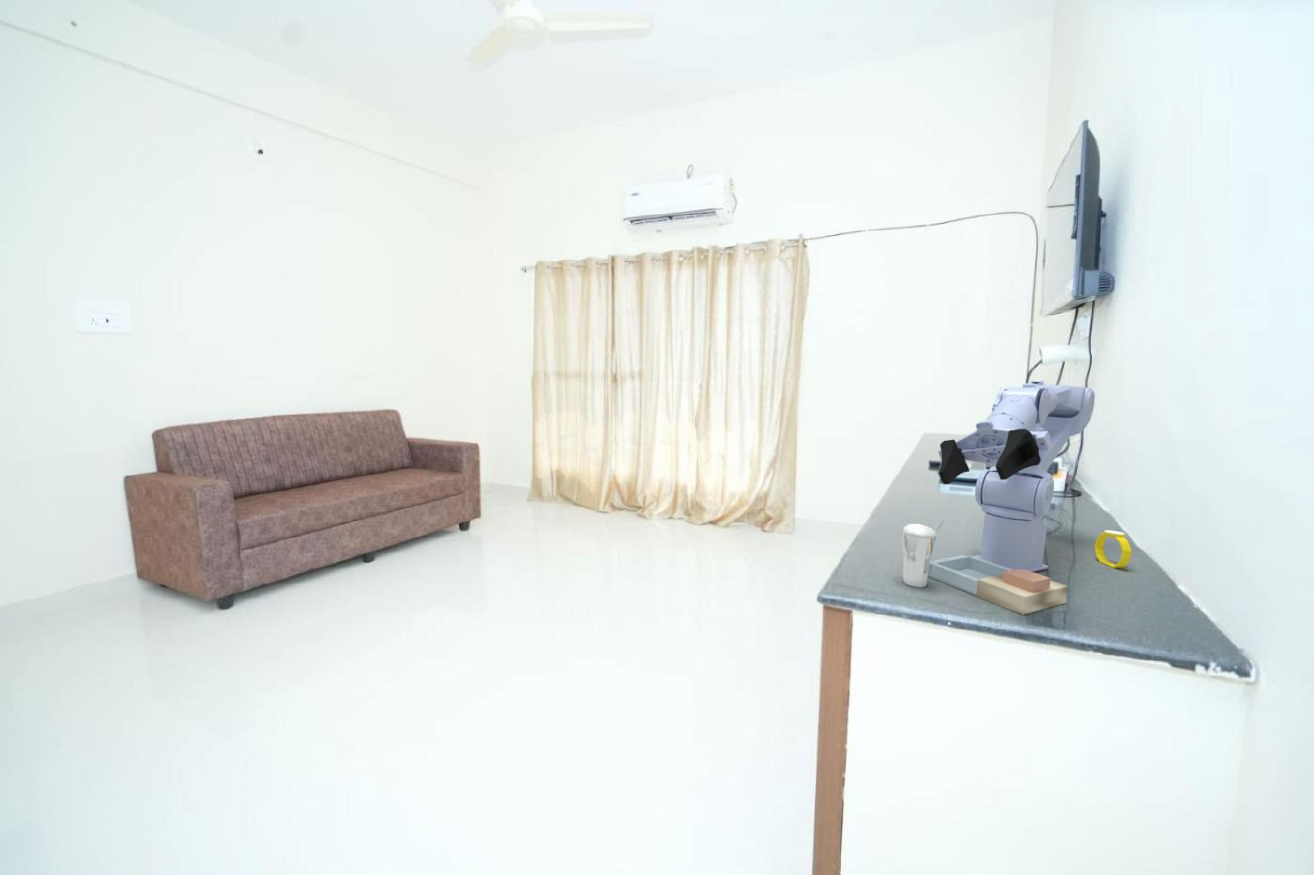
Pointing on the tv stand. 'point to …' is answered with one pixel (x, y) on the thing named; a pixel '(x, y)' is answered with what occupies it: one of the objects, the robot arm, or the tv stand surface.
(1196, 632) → the tv stand surface
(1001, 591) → the beige wooden block
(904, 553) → the milkshake
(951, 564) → the box
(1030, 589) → the tile
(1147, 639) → the tv stand surface
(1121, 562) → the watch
